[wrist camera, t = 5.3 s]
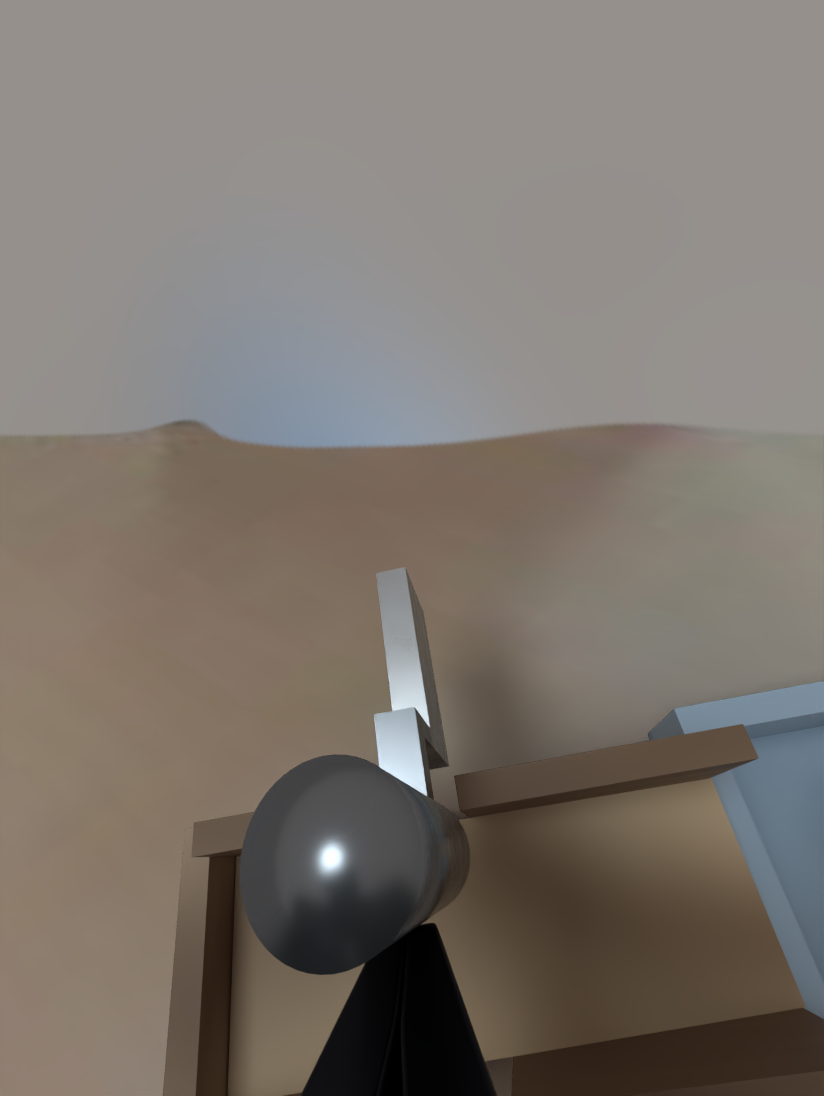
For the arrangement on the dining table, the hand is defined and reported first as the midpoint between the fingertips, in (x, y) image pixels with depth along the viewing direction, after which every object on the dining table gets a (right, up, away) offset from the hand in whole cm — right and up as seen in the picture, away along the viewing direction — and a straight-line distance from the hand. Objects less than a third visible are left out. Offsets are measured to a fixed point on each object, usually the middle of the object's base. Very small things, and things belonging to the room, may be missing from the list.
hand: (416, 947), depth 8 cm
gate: (0, +1, +7) cm, 7 cm away
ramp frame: (+3, -6, +9) cm, 11 cm away
